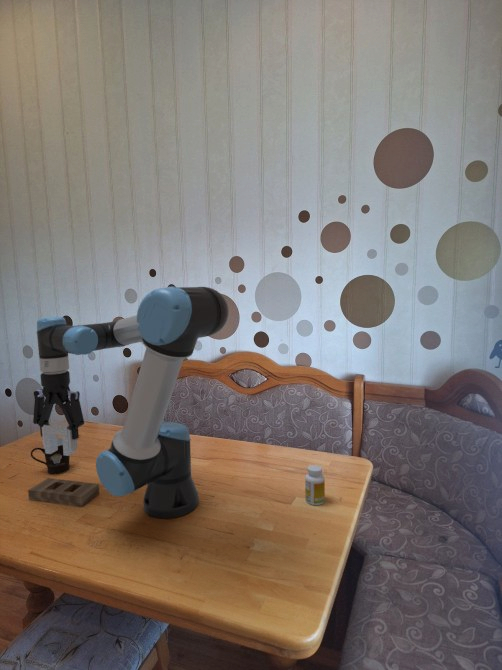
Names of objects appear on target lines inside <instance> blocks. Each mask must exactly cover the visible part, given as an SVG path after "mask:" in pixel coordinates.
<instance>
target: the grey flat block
mask: <svg viewBox="0 0 502 670" xmlns="http://www.w3.org/2000/svg"><path fill="white" fill-rule="evenodd" d="M99 485H100V484H99V483H94V482H84V481H77V480H67V479H59V478H50V477H47V478H46V479H44V480H42V481H40V482H39V483H38V484H35V485H34V486H32V487H31V488H29V489H28V490H27V495H28V501H33V502H34V501H35V502H41V503H49V504H50V503H51V504H57V505H64V506H71V507H78V508H79V507H80V508H83V507H84V506H85V505H87V504H88V503H89V502H90V501H92V500H93V499H95V498H96V497H97V496H98V495H100V487H99Z"/></svg>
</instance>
